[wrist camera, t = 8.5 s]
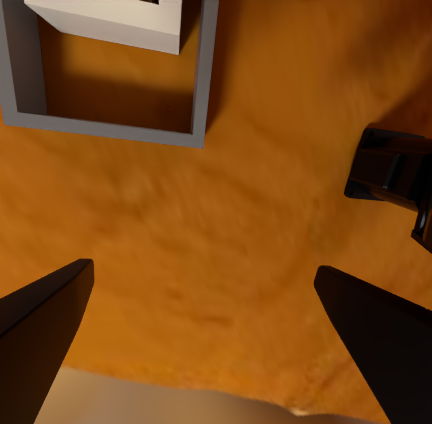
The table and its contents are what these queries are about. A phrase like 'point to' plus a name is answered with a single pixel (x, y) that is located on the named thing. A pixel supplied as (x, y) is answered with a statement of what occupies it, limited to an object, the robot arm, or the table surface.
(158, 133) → the walled frame
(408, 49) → the table surface
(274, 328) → the table surface
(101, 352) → the table surface
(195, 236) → the table surface
